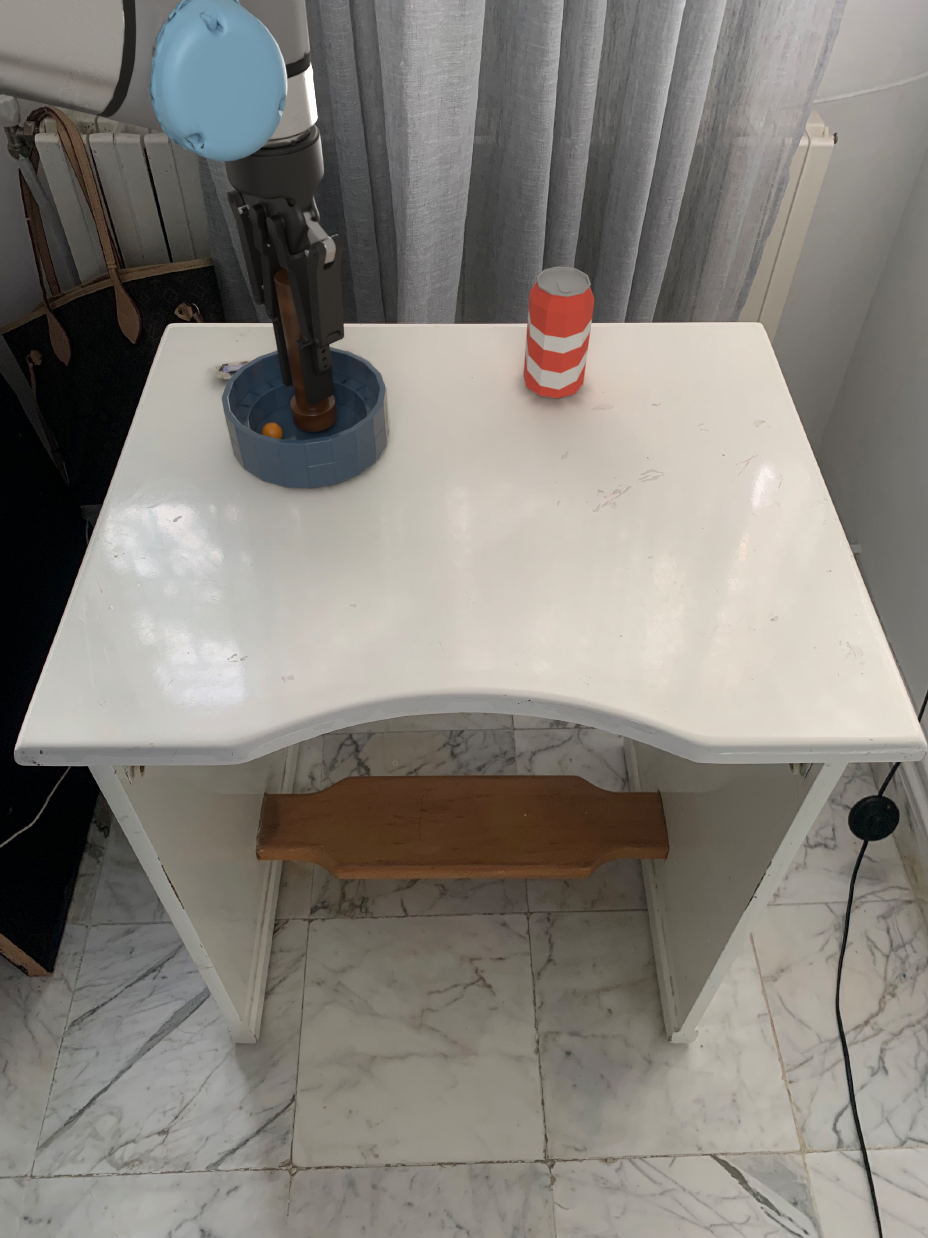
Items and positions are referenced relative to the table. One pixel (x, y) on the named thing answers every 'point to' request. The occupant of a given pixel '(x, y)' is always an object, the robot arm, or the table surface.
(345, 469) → the bowl
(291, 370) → the brown cylinder
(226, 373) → the granola bar
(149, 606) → the table surface
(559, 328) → the beverage can
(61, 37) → the robot arm
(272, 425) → the bead
